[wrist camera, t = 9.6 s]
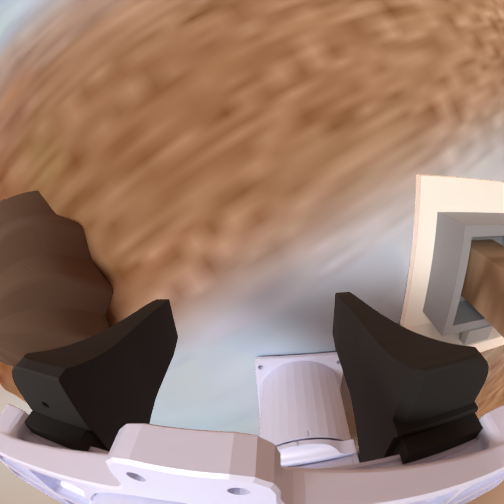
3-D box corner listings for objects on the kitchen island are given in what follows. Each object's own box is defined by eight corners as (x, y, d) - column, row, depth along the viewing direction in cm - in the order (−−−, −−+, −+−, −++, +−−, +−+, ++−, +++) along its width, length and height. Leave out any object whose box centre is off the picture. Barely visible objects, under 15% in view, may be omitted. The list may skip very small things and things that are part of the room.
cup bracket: (488, 316, 22) (513, 341, 18) (397, 334, 23) (417, 369, 18) (513, 183, 18) (549, 194, 13) (416, 174, 18) (452, 183, 14)
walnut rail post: (483, 281, 19) (536, 328, 12) (451, 286, 20) (505, 339, 12) (491, 239, 18) (553, 276, 11) (459, 240, 18) (524, 283, 11)
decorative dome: (-24, 200, 21) (-85, 226, 12) (98, 181, 20) (7, 211, 11) (16, 342, 28) (-25, 385, 18) (136, 373, 27) (99, 445, 17)
